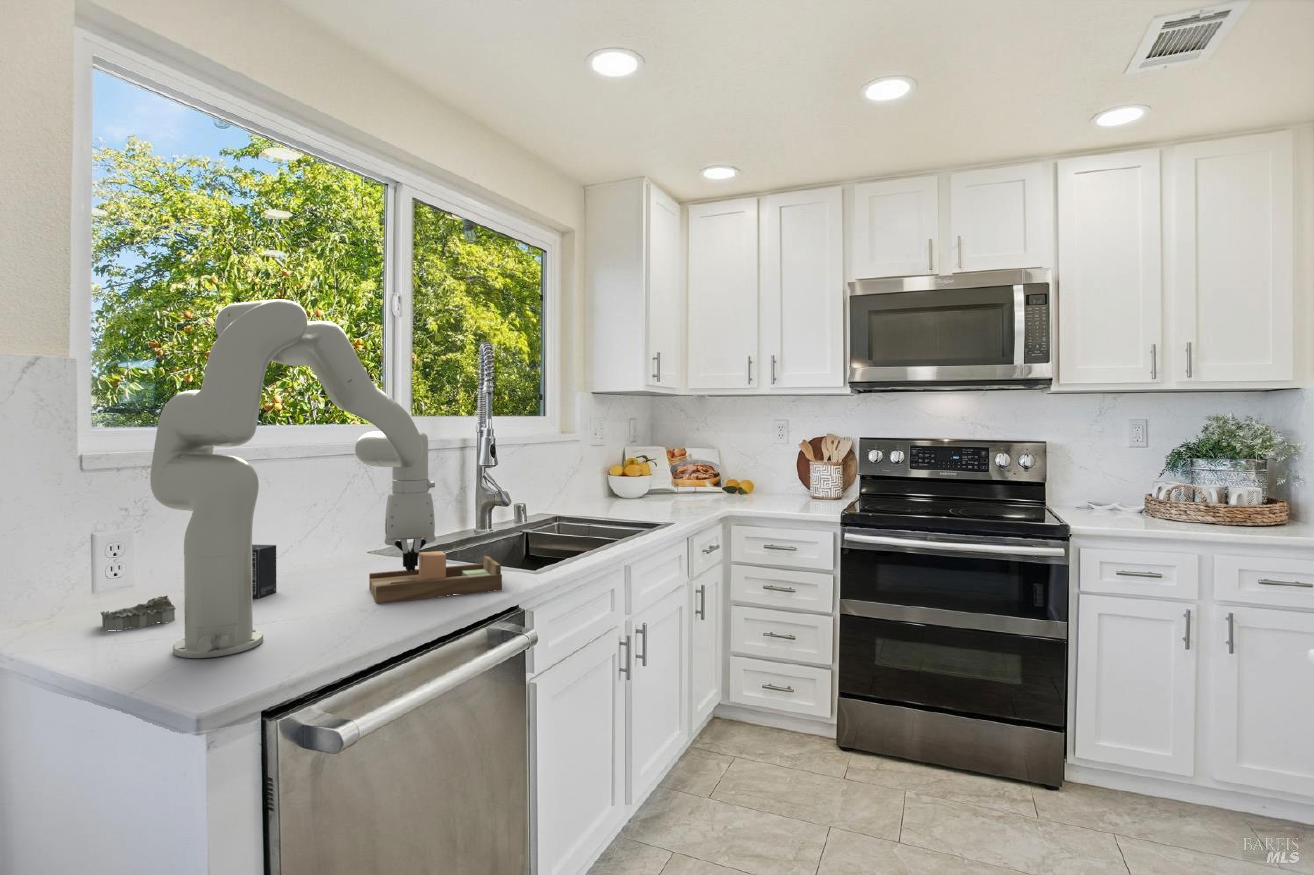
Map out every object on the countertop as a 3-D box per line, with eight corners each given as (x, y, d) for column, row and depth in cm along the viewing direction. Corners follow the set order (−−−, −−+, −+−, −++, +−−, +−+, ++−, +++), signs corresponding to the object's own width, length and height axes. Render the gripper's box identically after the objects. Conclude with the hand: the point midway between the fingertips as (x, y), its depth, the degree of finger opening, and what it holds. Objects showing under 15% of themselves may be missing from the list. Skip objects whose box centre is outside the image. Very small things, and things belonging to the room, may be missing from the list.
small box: (278, 591, 153) (278, 543, 153) (259, 599, 147) (258, 549, 146) (233, 590, 154) (233, 542, 154) (211, 597, 148) (211, 547, 147)
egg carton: (170, 615, 135) (170, 594, 135) (177, 624, 129) (177, 601, 129) (100, 625, 128) (100, 603, 128) (103, 635, 122) (103, 611, 122)
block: (445, 576, 158) (446, 554, 157) (422, 578, 155) (422, 556, 155) (441, 572, 162) (441, 551, 162) (418, 574, 160) (419, 552, 160)
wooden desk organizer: (501, 590, 156) (501, 565, 156) (376, 603, 144) (376, 576, 144) (486, 577, 168) (486, 554, 168) (369, 588, 156) (369, 564, 156)
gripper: (441, 485, 163) (441, 563, 163) (372, 487, 156) (372, 569, 156) (448, 487, 156) (448, 570, 157) (376, 490, 149) (376, 576, 150)
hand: (410, 569), depth 156 cm, fingers closed
